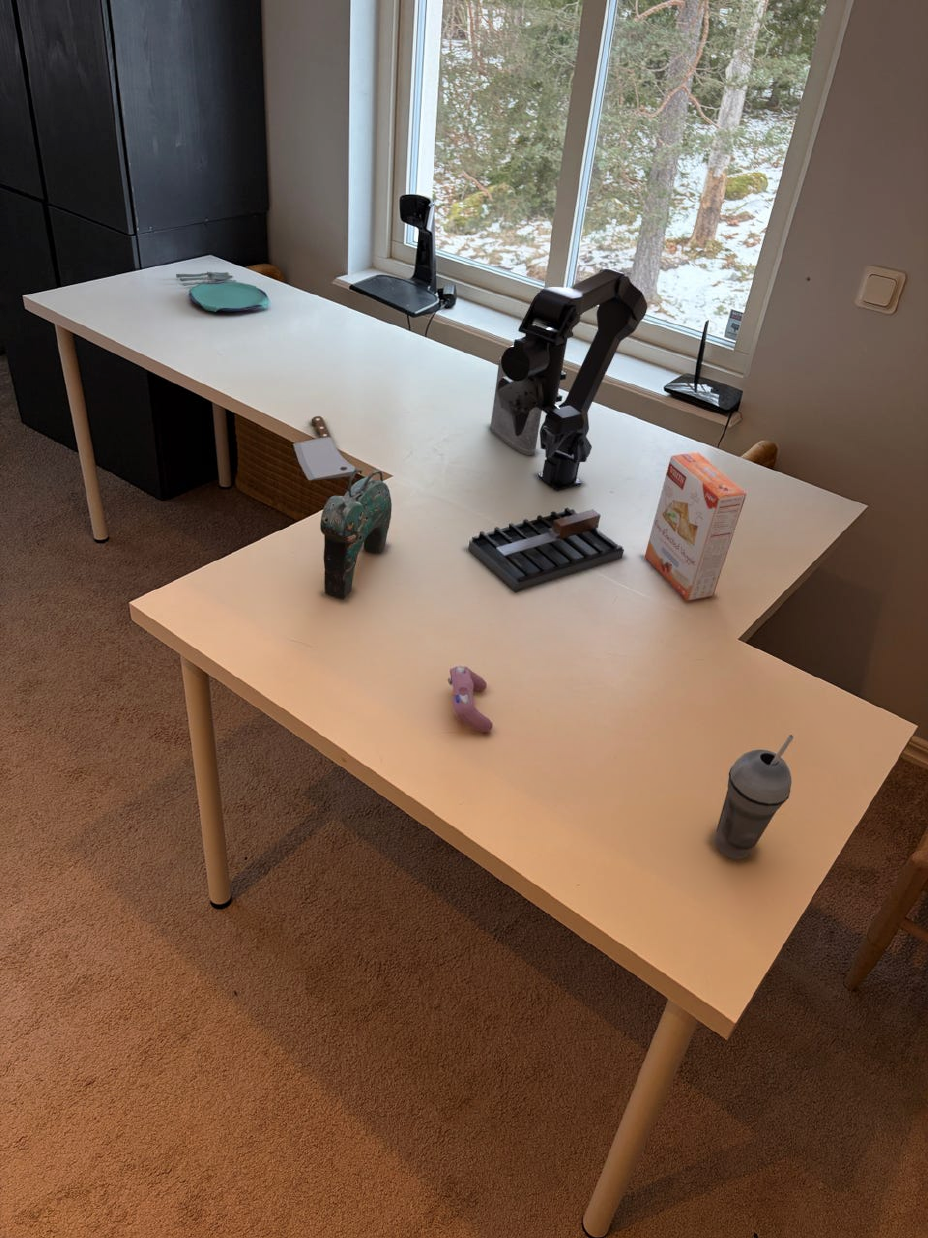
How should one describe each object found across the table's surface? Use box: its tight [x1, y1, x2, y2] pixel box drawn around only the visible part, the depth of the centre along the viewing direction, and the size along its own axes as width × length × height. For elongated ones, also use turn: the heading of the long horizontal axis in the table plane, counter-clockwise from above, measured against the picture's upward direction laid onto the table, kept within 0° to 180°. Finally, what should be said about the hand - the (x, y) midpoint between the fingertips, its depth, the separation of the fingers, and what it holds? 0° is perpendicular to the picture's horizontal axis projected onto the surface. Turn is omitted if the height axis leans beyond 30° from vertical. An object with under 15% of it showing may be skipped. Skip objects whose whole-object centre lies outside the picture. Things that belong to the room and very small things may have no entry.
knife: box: [496, 509, 601, 557], centre depth 165 cm, size 21×3×3 cm, turn 124°
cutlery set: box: [175, 271, 270, 313], centre depth 250 cm, size 20×30×2 cm, turn 30°
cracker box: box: [644, 451, 747, 602], centre depth 160 cm, size 14×6×21 cm, turn 23°
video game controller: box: [447, 665, 494, 733], centre depth 132 cm, size 10×5×7 cm, turn 5°
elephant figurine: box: [319, 468, 393, 600], centre depth 152 cm, size 20×6×20 cm, turn 160°
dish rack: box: [467, 507, 625, 593], centre depth 167 cm, size 24×14×3 cm, turn 124°
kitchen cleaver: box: [292, 415, 356, 482], centre depth 189 cm, size 24×1×10 cm
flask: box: [490, 356, 543, 456], centre depth 196 cm, size 4×14×18 cm, turn 34°
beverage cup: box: [714, 734, 794, 860], centre depth 113 cm, size 7×7×20 cm
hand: (532, 446), depth 174 cm, fingers open, 9 cm apart
